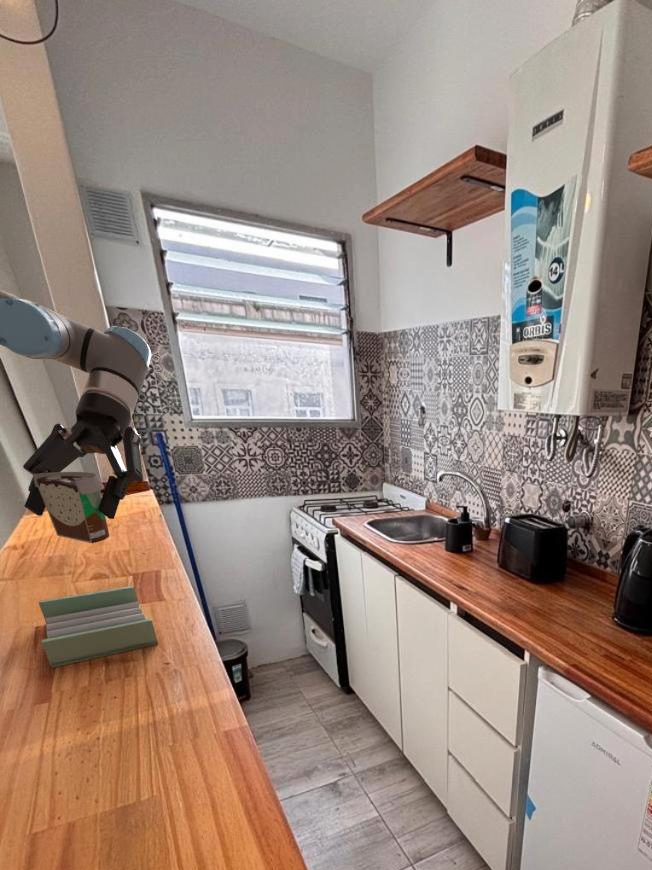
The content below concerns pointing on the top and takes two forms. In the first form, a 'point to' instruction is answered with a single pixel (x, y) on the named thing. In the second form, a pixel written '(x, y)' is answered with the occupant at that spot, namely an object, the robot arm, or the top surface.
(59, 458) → the robot arm
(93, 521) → the food container
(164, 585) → the top surface
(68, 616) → the dish rack
